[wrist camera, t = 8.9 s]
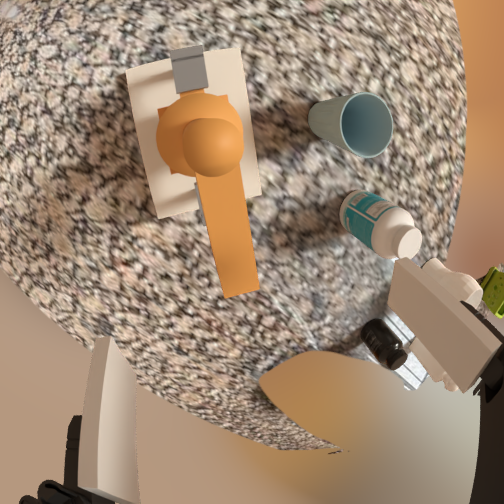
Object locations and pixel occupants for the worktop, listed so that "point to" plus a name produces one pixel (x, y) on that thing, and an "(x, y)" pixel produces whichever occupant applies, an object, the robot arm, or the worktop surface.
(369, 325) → the supplement bottle
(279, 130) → the worktop surface
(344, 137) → the cup
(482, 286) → the flower pot
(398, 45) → the worktop surface
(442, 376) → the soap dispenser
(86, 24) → the worktop surface
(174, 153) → the lever handle
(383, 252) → the pill bottle
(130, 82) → the base
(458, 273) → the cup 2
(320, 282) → the worktop surface
